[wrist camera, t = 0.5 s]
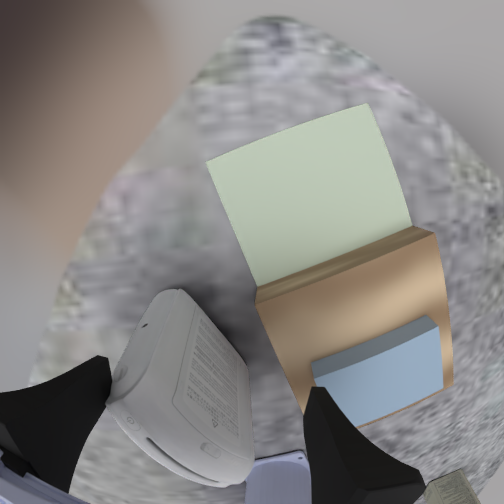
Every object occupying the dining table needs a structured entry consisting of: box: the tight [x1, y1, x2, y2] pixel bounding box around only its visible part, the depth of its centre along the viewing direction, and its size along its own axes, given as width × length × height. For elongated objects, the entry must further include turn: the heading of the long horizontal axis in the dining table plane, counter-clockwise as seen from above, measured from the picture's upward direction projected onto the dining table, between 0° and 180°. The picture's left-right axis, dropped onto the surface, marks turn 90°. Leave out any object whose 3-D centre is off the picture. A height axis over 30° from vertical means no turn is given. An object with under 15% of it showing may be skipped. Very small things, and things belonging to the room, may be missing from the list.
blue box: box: [311, 315, 443, 427], centre depth 19 cm, size 6×9×2 cm, turn 112°
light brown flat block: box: [255, 226, 453, 428], centre depth 21 cm, size 14×13×4 cm
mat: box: [206, 103, 412, 287], centre depth 21 cm, size 10×13×1 cm
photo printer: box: [105, 289, 255, 487], centre depth 18 cm, size 10×4×12 cm, turn 33°
